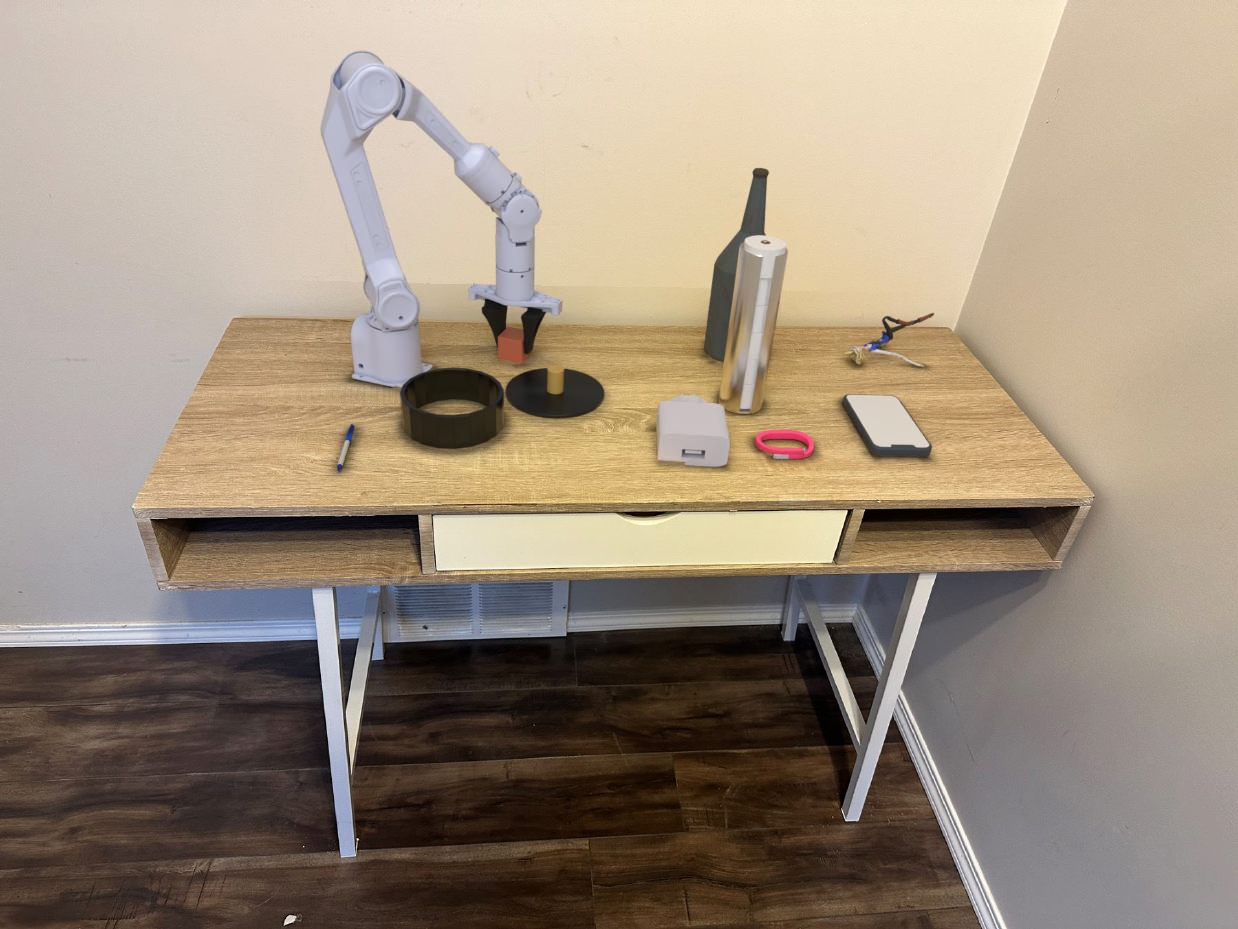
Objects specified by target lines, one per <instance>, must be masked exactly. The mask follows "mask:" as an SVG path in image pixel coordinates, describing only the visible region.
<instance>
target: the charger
mask: <svg viewBox="0 0 1238 929" xmlns="http://www.w3.org/2000/svg"><path fill="white" fill-rule="evenodd" d="M726 415H727V414H726V409H724V407H723V406H722V405H720V404H719V403H716V402H708V400H706V399H705V398H702V397H701V396H699V395H696V393H692V394H691V395H688V394H687V395H686V394H684V393H683V392H682V393H680V394H679V395H677V396H674V397H672V398H670V399H669V400H663V401H661V402H659V403H658V405H657V412H656V422H655V426H656V427H655V428H656V429H655V430H656V445H657V446H656V450H657V451H656V452H657V460H658V461H667V462H680V463H681V462H684V464H683V465H684V466H694V467H695V466H697V467H714V468H715V467H716V468H717V467H718V468H719V467H722V466H723V467H724V466H726V465H727V464H728V460H729V453H730V446H731V438H730V433H729V427H728V421H727V416H726Z"/></svg>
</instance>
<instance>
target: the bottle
mask: <svg viewBox="0 0 1238 929" xmlns="http://www.w3.org/2000/svg"><path fill="white" fill-rule="evenodd" d="M769 174H770V170H768V169H767V168H763V167H754V168H753V170H752V180H751V183H750V188H749V192H748V196H747V199H746V204H745V209H744V211H743V212H744V213H743V217H742V220H741V225H740V229H739V230H738V231H737V232H736V234H735V235H734V236H733V238H732V239H731V240H730V241H729V243H727V245H726V246H725V247H724V249H723V250H722V251H721V252H720V253H719V255H718V256H717V257H716V260H715V262H714V263H713V272H712V280H711V289H710V296H709V302H708V303H709V304H708V311H707V318H706V319H707V320H706V328H705V336H704V343H703V350H704V352H705V354H706V355H709V356H710V357H711V358H712V360H716V361H719V362H722V363H724V357H725V350H726V342H727V335H728V328H729V321H730V313H731V306H732V299H733V292H734V284H735V277H736V270H737V263H738V255H739V248H740V245H741V244H742V243H743V242H744V241H745V239H746V238H748V237H750V236H757V235H763V236H767V234H766V231H765V228H766V208H767V190H768V188H767V186H768V176H769Z"/></svg>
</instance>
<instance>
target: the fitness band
mask: <svg viewBox="0 0 1238 929" xmlns="http://www.w3.org/2000/svg"><path fill="white" fill-rule="evenodd" d="M767 440H795V441H799V442H802V443H803V444H805V445H806V446H807V448H805V447H775V446H771V445H769V444H766V443H764V442H763V441H767ZM754 445H755V447H756V448H757V449H759V450H761V451H763V452H765V453H770V454H772V459H773V460H799V459H800V460H801V459H806V458H808V457H810V456H812V455H813V453H814V450H815V443H814V440H813V438H812V437H811V436H810V435H809V434H807V433H806V432H804V431H800V430H795V429H769V430H763V431H760V432H758V433H757V434H756V435H755V440H754Z"/></svg>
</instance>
